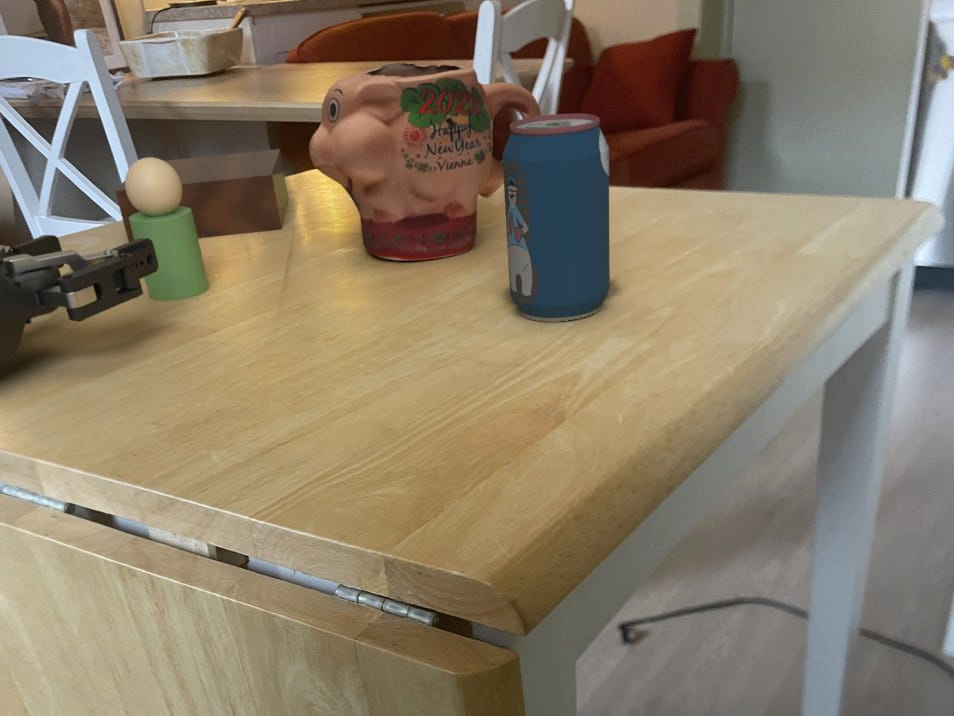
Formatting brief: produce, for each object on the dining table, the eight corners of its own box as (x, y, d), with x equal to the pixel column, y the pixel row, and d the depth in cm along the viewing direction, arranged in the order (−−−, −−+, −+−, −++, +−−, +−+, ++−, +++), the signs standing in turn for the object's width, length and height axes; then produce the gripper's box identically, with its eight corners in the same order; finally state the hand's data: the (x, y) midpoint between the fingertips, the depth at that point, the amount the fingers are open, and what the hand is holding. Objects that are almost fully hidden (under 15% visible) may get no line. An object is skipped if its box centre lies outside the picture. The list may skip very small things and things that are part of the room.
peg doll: (149, 320, 77) (108, 166, 71) (158, 302, 81) (120, 155, 75) (209, 313, 77) (174, 160, 71) (215, 296, 81) (182, 149, 75)
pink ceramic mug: (512, 214, 96) (503, 47, 88) (571, 239, 87) (566, 54, 79) (311, 250, 91) (282, 75, 83) (350, 281, 81) (321, 86, 73)
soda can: (623, 297, 72) (624, 111, 65) (588, 328, 67) (585, 130, 60) (534, 292, 75) (526, 112, 68) (495, 321, 70) (482, 130, 63)
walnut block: (133, 259, 93) (114, 190, 90) (156, 225, 105) (140, 163, 101) (284, 243, 94) (271, 174, 91) (290, 211, 105) (279, 148, 102)
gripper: (-19, 263, 54) (171, 195, 66) (-195, 255, 59) (10, 193, 71) (28, 397, 58) (198, 310, 70) (-140, 378, 64) (44, 300, 75)
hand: (103, 251), depth 71 cm, fingers open, 8 cm apart
